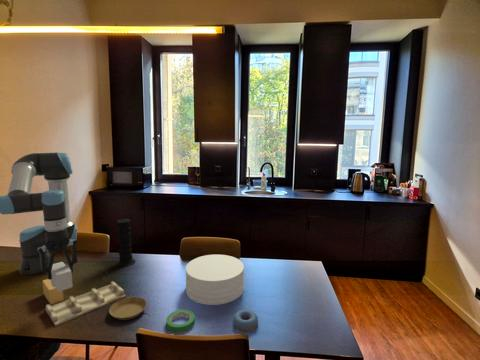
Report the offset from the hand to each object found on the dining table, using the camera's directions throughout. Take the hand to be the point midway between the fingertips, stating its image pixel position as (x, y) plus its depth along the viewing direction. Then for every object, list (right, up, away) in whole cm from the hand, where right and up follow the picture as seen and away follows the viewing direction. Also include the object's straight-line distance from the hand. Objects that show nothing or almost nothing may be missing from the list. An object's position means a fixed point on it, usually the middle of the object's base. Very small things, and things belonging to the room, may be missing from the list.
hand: (61, 283), depth 116 cm
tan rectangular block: (-12, -11, +13) cm, 21 cm away
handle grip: (+7, -6, +48) cm, 49 cm away
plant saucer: (+27, -14, +3) cm, 30 cm away
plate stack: (+62, -11, +22) cm, 66 cm away
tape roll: (+50, -15, -4) cm, 53 cm away
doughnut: (+76, -15, -4) cm, 78 cm away
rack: (+6, -12, +9) cm, 16 cm away
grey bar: (0, 0, 0) cm, 0 cm away
